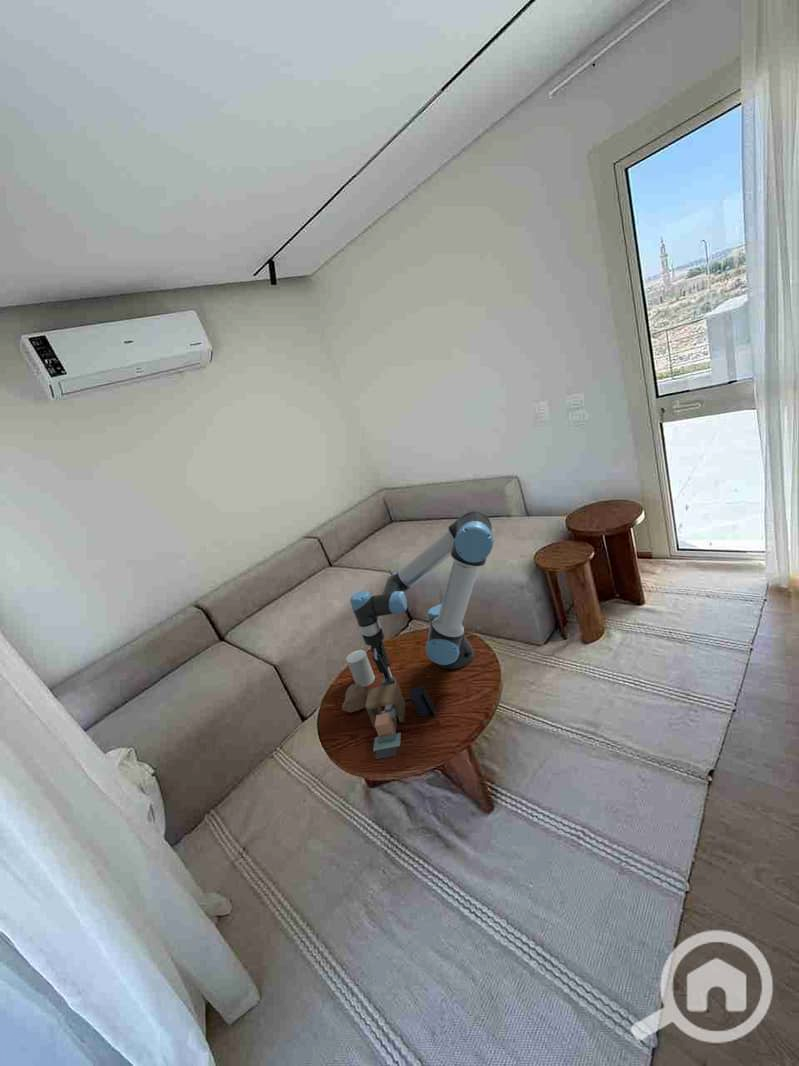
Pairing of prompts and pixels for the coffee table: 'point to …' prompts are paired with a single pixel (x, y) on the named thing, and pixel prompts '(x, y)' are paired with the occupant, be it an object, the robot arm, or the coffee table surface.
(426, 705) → the speaker
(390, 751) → the pad
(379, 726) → the block
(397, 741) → the pad
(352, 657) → the cup
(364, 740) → the coffee table surface
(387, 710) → the grey square dumbbell
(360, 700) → the stone
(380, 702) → the tunnel
